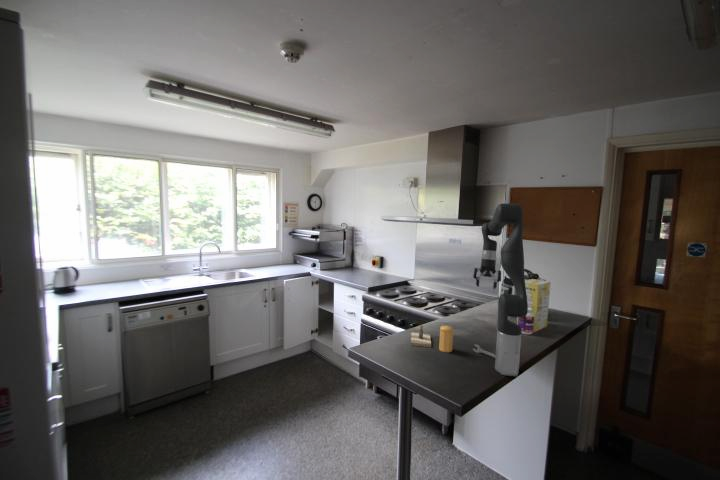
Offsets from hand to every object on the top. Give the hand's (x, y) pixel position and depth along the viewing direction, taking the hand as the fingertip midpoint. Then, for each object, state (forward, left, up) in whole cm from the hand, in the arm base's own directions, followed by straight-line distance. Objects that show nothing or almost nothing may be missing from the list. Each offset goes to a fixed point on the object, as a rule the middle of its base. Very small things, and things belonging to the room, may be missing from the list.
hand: (485, 287), depth 175 cm
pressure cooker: (+50, -35, -27) cm, 67 cm away
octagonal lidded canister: (-27, +23, -27) cm, 44 cm away
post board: (-19, +35, -27) cm, 48 cm away
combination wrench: (-31, +2, -27) cm, 41 cm away
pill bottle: (+10, -25, -27) cm, 38 cm away
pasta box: (+23, -33, -27) cm, 49 cm away
